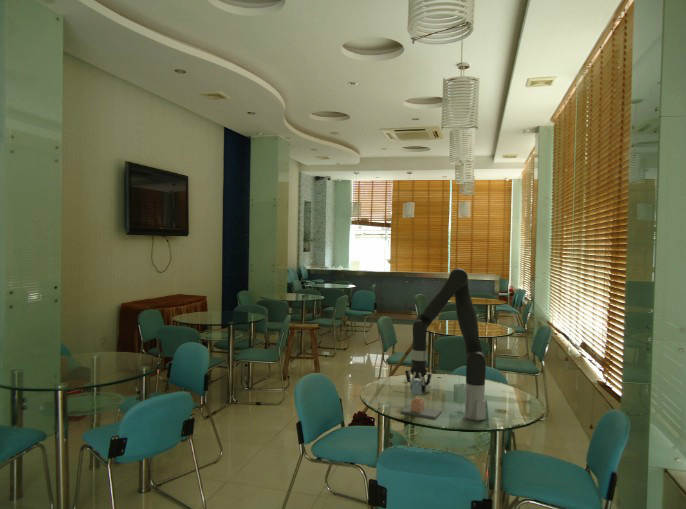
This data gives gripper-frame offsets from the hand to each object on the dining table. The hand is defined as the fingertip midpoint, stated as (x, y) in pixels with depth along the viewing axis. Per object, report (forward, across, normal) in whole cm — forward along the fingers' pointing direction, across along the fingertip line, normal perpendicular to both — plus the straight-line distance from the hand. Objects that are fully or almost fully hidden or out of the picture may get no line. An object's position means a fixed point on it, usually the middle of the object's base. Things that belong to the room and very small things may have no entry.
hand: (417, 391), depth 264 cm
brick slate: (0, 0, 0) cm, 0 cm away
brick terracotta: (+10, 0, 0) cm, 10 cm away
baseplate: (+11, +2, 0) cm, 11 cm away
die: (+11, -9, +39) cm, 41 cm away
